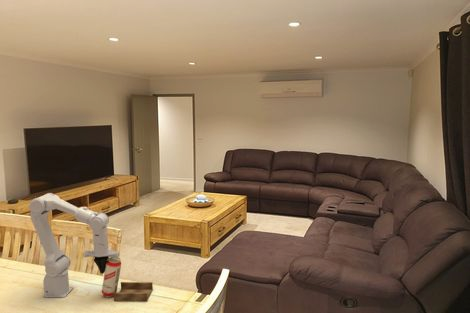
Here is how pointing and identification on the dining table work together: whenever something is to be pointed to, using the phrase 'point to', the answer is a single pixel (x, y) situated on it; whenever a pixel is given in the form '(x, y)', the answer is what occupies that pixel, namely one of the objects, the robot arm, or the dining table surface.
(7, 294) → the dining table surface
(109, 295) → the beer can
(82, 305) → the dining table surface
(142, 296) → the u rest
